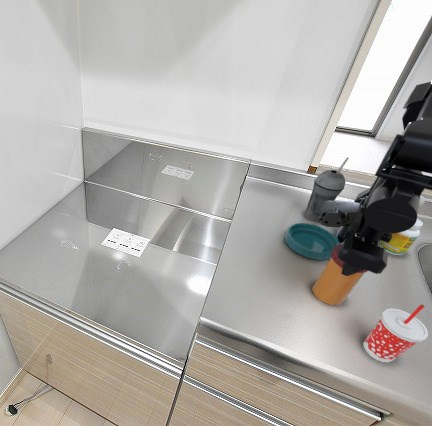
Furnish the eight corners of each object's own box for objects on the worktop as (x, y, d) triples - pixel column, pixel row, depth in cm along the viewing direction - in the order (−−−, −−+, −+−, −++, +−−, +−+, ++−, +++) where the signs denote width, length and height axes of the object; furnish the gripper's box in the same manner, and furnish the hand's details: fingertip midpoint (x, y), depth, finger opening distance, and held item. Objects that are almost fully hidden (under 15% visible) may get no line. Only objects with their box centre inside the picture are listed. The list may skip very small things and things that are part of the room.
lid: (323, 254, 61) (326, 248, 60) (345, 244, 63) (349, 238, 62) (355, 277, 56) (359, 272, 55) (379, 266, 58) (383, 260, 57)
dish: (290, 225, 86) (294, 217, 84) (338, 243, 80) (343, 235, 78) (278, 247, 79) (281, 239, 77) (330, 268, 72) (335, 260, 71)
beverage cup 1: (301, 207, 94) (327, 148, 82) (328, 214, 90) (359, 154, 78) (297, 218, 89) (324, 158, 77) (325, 227, 85) (358, 165, 73)
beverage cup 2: (369, 330, 59) (409, 285, 51) (405, 356, 55) (455, 312, 46) (351, 344, 57) (390, 299, 49) (387, 373, 53) (437, 329, 44)
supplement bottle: (383, 239, 81) (403, 211, 75) (407, 250, 77) (430, 222, 71) (375, 247, 78) (395, 219, 72) (399, 259, 75) (422, 230, 69)
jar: (315, 279, 70) (338, 241, 62) (345, 292, 66) (373, 254, 59) (309, 295, 66) (332, 258, 58) (340, 310, 63) (368, 273, 55)
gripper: (341, 168, 61) (312, 226, 70) (323, 211, 49) (291, 273, 59) (412, 185, 55) (370, 246, 64) (409, 238, 43) (359, 302, 53)
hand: (346, 264), depth 60 cm, fingers closed on lid, 6 cm apart
